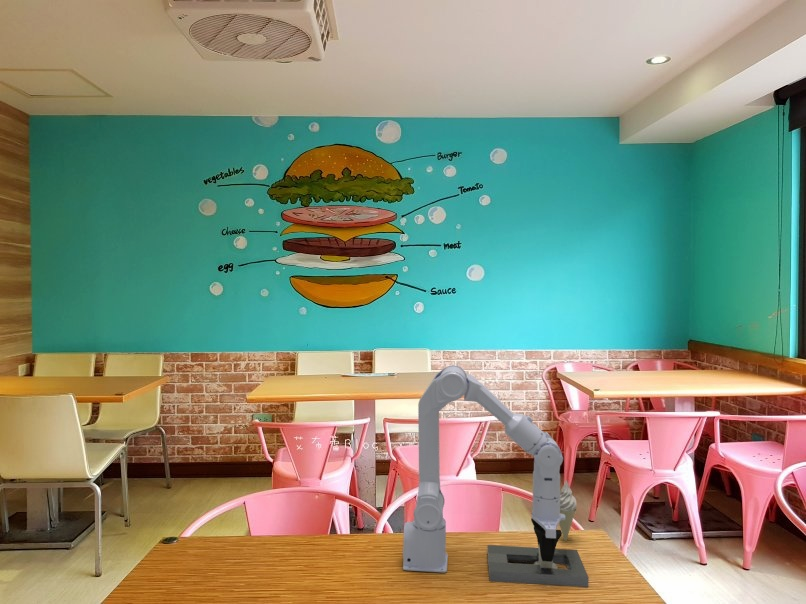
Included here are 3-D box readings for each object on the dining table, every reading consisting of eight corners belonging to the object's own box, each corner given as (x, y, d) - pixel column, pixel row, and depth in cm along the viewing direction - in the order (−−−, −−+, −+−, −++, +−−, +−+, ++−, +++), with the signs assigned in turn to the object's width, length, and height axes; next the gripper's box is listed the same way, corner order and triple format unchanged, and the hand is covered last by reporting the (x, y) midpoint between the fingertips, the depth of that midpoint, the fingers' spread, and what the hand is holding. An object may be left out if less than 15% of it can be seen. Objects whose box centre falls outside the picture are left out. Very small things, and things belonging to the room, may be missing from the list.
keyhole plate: (489, 581, 116) (489, 571, 116) (487, 554, 128) (487, 544, 128) (588, 587, 114) (588, 576, 114) (576, 558, 126) (576, 549, 126)
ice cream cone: (577, 546, 132) (577, 483, 132) (555, 544, 133) (555, 482, 133) (575, 537, 137) (575, 476, 136) (553, 535, 138) (554, 475, 137)
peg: (534, 574, 119) (534, 537, 118) (532, 563, 124) (533, 527, 123) (558, 576, 118) (559, 539, 118) (556, 565, 123) (556, 529, 123)
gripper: (571, 508, 113) (570, 574, 113) (559, 483, 127) (559, 542, 127) (536, 506, 113) (535, 572, 114) (528, 482, 128) (527, 540, 128)
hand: (545, 556), depth 121 cm, fingers closed on peg, 3 cm apart
